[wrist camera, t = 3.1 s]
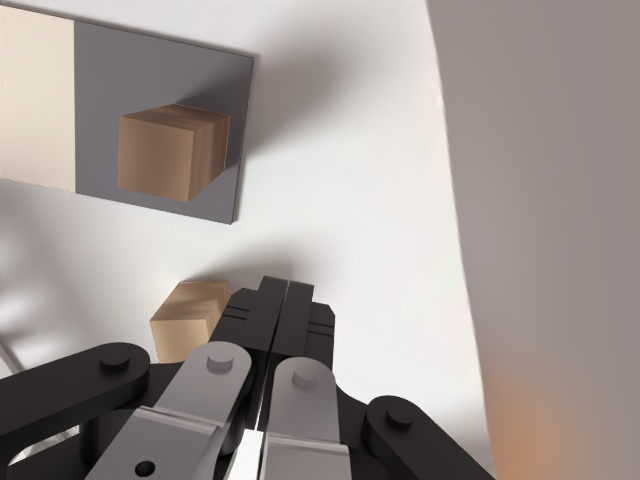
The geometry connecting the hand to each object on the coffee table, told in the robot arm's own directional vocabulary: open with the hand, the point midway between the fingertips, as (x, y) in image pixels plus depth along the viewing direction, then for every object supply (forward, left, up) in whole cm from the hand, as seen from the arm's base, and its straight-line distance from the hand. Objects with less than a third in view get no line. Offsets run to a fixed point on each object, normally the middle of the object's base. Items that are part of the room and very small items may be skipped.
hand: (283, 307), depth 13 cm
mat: (+14, +4, -21) cm, 26 cm away
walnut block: (+9, +2, -20) cm, 22 cm away
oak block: (+3, +15, -21) cm, 26 cm away
